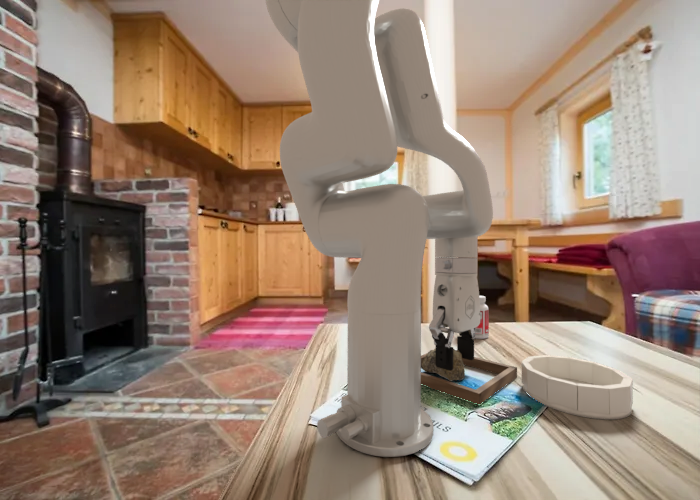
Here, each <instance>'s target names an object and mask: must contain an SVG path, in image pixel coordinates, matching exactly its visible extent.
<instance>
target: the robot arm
mask: <svg viewBox="0 0 700 500" xmlns="http://www.w3.org/2000/svg"><path fill="white" fill-rule="evenodd" d="M379 3H380V0H265V5H266V8H267V12H268V15H269V17H270V20H271V21H272V23H273V25H274V26H275V28H276V30H277V31H278V32H279V34H281V36H282V38H284V40H285V41H286V42H287V43H288V44H289V45H290V46H291V47H292V48H293V49H294V50H295V51H296V52H297V55H298V60H299V65H300V68H301V73H302V76H303V79H304V82H305V86H306V89H307V90H306V91H307V93H308V98H309V101H310V102H309V103H310V104H311V112H308V113H307V114H304V115H302V116H300V117H297V118H296V119H294V120H293V121H292V122H290V123H289V125H287V126H286V128H285V130H284V131H283V133H282V135H281V139H280V143H279V159H280V160H279V162H280V166H281V170H282V173H283V176H284V179H285V182H286V184H287V187H288V190H289V193H290V195H291V198H292V200H293V203H294V206H295V208H296V210H297V213H298V215H299V218H300V221H301V223H302V226H303V228H304V231H305V233H306V235H307V237H308V239H309V241H310V243H311V245H313V247H314V248H315V249H316V251H318V252H319V253H320V254H322V255H324V256H327V257H331V258H346V259H348V258H349V259H351V258H352V259H353V258H354V259H356V258H357V259H360V261H359V263H358V265H357V267H356V268H355V270H354V272H353V274H352V276H351V279H350V281H349V286H348V290H347V301H346V302H347V303H346V304H347V305H346V306H347V376H346V377H347V382H346V383H347V394H346V395H344V396H342V397H340V399H341V403H340V404H341V407H339V408H337V410H336V412H335V413H333V414H330V415H327V416H325V417H323V418H321V419H319V420H318V421H317V423H316V425H317V426H316V427H317V431H318V434H319V435H320V436H321V437H322V438H324V439H325V438H328V437H330V436H331V435H333V434H335V433H336V435H337V436H338V438H339V439H340V440H341V441H342V442H343V443H345V445H347V446H348V447H350V448H352V449H353V450H355V451H358V452H360V453H363V454H365V455H366V454H367V455H370V456H376V457H383V458H391V457H392V458H396V457H404V456H408V455H412V454H415V453H417V452H419V450H420V451H422V450H423V449H424V448H426V447H427V446H428V445H429V444H430V443H431V441H432V440H433V437H434V422H433V420H432V418H431V416H430V415H429V414H428V412H426V410H424V409H423V408H422V407H421V406H422V403H421V401H422V399H421V398H422V390H421V389H422V385H421V371H422V370H421V369H422V367H421V355H422V303H421V301H422V273H423V272H422V271H423V264H424V263H423V261H424V255H425V248H426V244H427V240H434V275H435V278H434V285H433V295H432V320H431V321H430V323H429V326H428V329H429V332H430V334H431V337H432V339H433V344H434V345H435V348H436V350H435V365H436V366H437V367H439V368H442V369H446V370H449V371H451V370H453V349H454V347H452V343H453V338H454V335H455V333H456V334H459V336H458V335H457V336H456V337H457V338H456V340H457V341H456V343H457V344H456V347H457V348H456V350H459V352H460V353H461V354H462V358H464V359H468V360H474V357H475V328H476V327H477V326H479V324H480V299H479V296H480V291H479V290H480V288H479V282H478V237H481V236H482V235H484V234H486V233H487V232H488V231H489V229H490V228H491V226H492V223H493V218H494V217H493V216H494V209H493V201H492V193H491V188H490V183H489V177H488V173H487V169H486V166H485V165H484V162H483V160H482V158H481V156H480V155H479V154H478V153H477V151H476V150H475V148H474V147H473V146H472V145H471V144H470V143H469V142H468V141H467V140H466V139H465V138H464V137H463V136H462V135H461V134H459V133H458V132H456V131H455V130H453V129H452V128H451V127H450V126H449V125H448V124H447V123H446V121H445V117H444V115H443V110H442V105H441V104H442V103H441V100H440V97H439V96H440V95H439V90H438V86H437V81H436V76H435V72H434V67H433V63H432V58H431V54H430V48H429V43H428V39H427V35H426V30H425V27H424V23H423V22H422V19H421V17H420V15H418V14H417V12H416V11H414V10H412V9H410V8H397V9H394V10H390V11H387V12H385V13H383V14H380V15H379V16H377V17H376V15H377V11H378V8H379V7H378V6H379ZM398 148H401V149H402V148H403V149H406V150H411V151H415V152H418V153H423V154H424V155H428V156H431V157H434V158H435V159H438V160H439V161H441V162H442V163H444V164H446V165H448V167H449V168H451V170H453V172H454V173H455V174H456V175H457V177H458V179H459V181H460V184H461V186H462V189H463V190H456V191H450V192H442V193H435V194H428V195H422V193H420V192H419V191H418V190H417V189H415V188H414V187H411V186H409V185H405V184H400V183H388V184H386V183H385V184H379V185H374V186H367V187H361V188H357V189H352V190H348V191H345V187H344V185H343V184H344V183H350V182H354V181H358V180H364V179H367V178H368V179H369V178H371V177H373V176H377V175H380V174H382V173H384V172H386V171H388V170H390V168H392V166H393V165H394V163H395V162H396V159H397V156H398ZM444 333H445V334H446V336H445V334H444ZM421 449H422V450H421Z"/></svg>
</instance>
